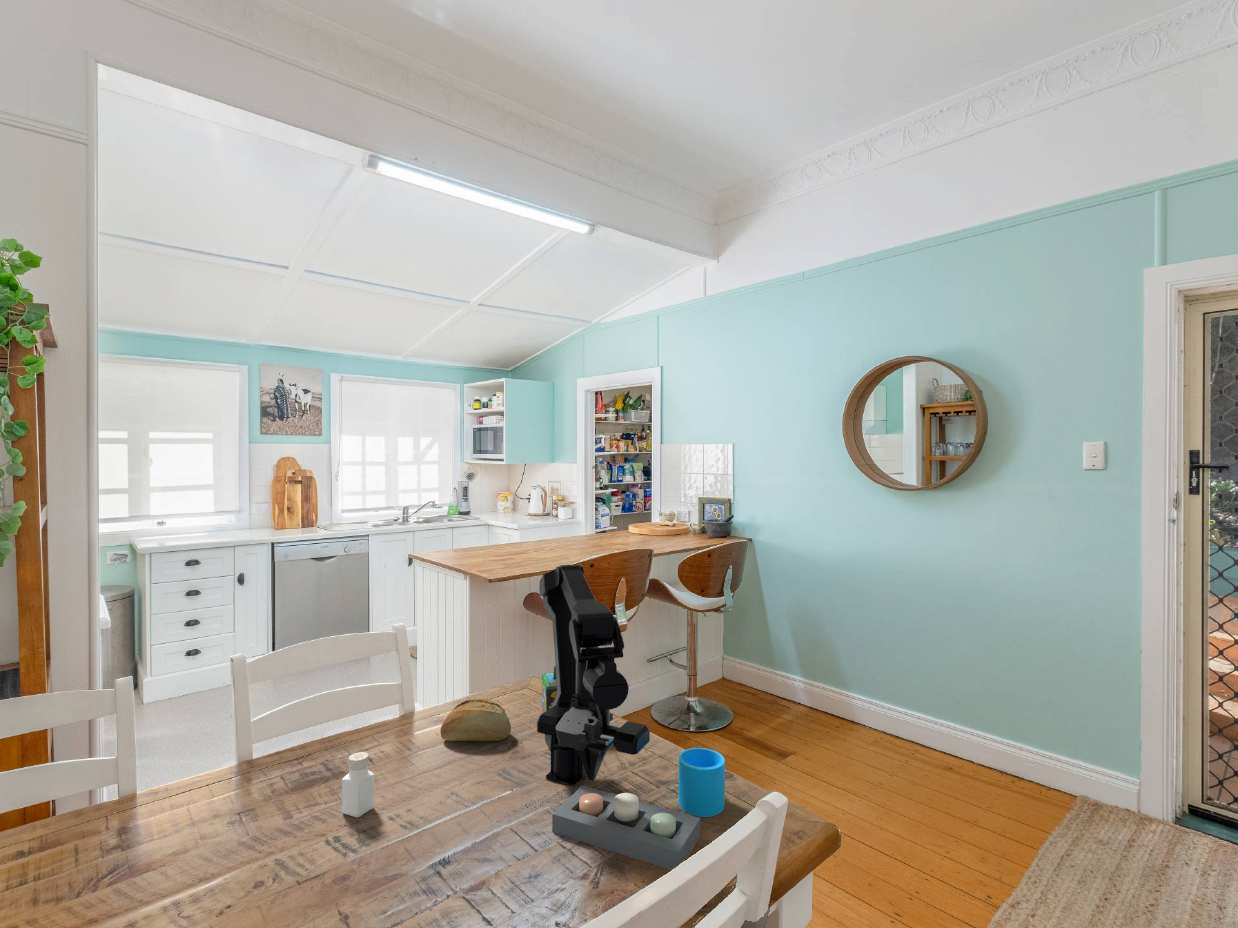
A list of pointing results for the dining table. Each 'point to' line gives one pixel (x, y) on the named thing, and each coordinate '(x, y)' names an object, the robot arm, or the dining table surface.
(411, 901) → the dining table surface
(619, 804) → the cream button
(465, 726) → the bread roll
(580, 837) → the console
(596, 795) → the terracotta button
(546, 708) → the chalk box
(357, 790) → the pepper shaker
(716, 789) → the mug
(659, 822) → the sage button
